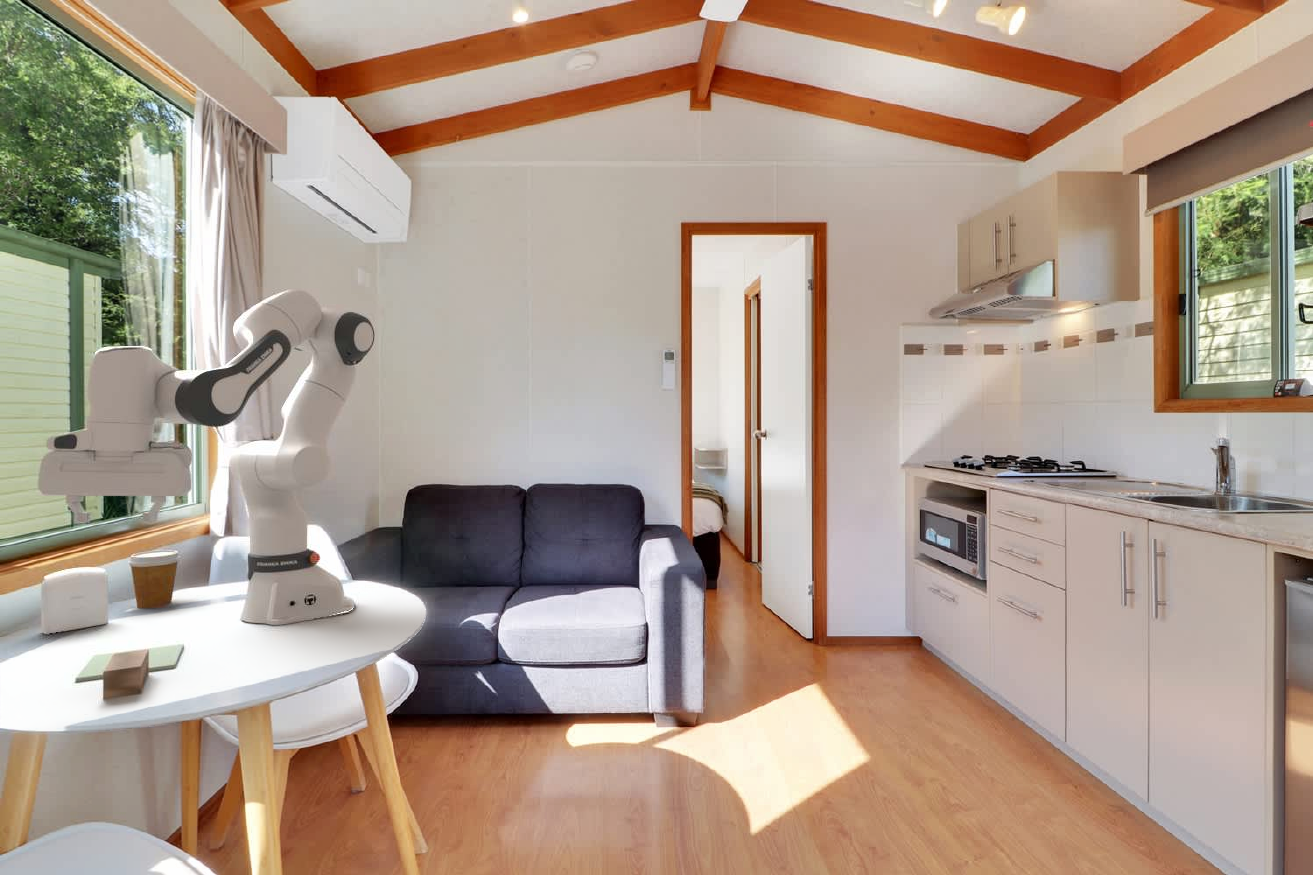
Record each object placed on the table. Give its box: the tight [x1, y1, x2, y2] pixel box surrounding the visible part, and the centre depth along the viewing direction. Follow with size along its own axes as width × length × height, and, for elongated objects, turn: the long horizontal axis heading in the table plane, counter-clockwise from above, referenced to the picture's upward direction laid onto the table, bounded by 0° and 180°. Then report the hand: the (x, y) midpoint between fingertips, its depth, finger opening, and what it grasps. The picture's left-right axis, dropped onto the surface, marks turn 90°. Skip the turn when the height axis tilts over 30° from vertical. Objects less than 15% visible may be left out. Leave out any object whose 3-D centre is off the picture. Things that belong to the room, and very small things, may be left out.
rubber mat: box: [75, 643, 185, 683], centre depth 112 cm, size 13×12×1 cm
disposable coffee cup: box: [127, 549, 181, 609], centre depth 148 cm, size 10×10×12 cm
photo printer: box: [40, 566, 109, 635], centre depth 130 cm, size 10×4×12 cm, turn 140°
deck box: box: [102, 648, 150, 700], centre depth 102 cm, size 4×9×4 cm, turn 33°
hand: (116, 522), depth 106 cm, fingers open, 8 cm apart
